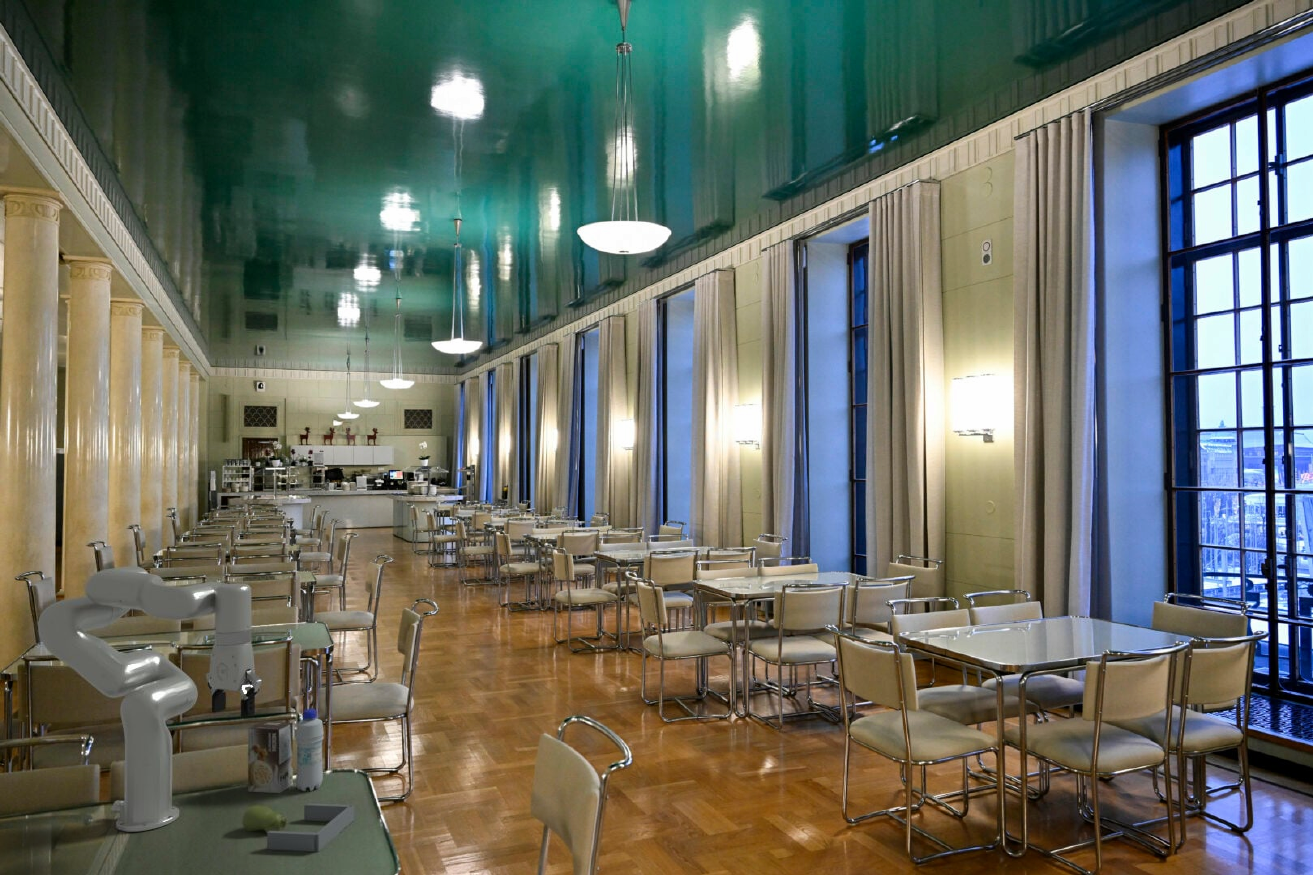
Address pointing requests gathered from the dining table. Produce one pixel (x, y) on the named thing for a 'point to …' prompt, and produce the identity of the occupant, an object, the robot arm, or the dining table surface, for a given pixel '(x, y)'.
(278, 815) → the pear
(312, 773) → the bottle
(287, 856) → the dining table surface
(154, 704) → the robot arm
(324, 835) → the box
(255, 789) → the coffee box
